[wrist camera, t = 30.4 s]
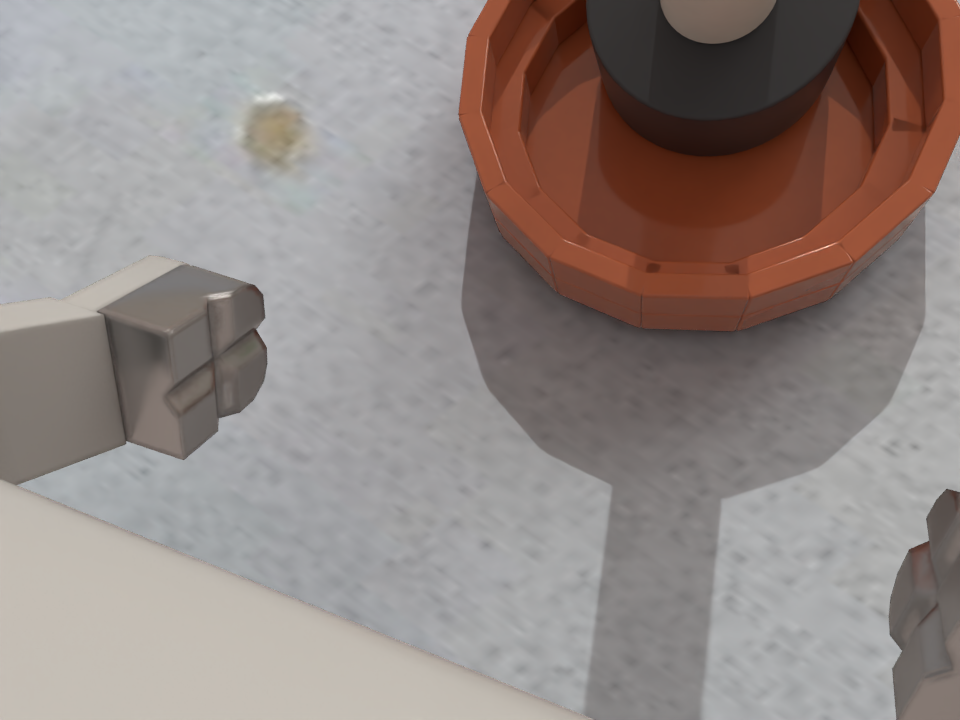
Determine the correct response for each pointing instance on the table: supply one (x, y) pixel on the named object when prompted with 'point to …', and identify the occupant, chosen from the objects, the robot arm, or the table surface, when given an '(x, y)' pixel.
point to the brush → (716, 66)
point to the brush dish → (706, 170)
